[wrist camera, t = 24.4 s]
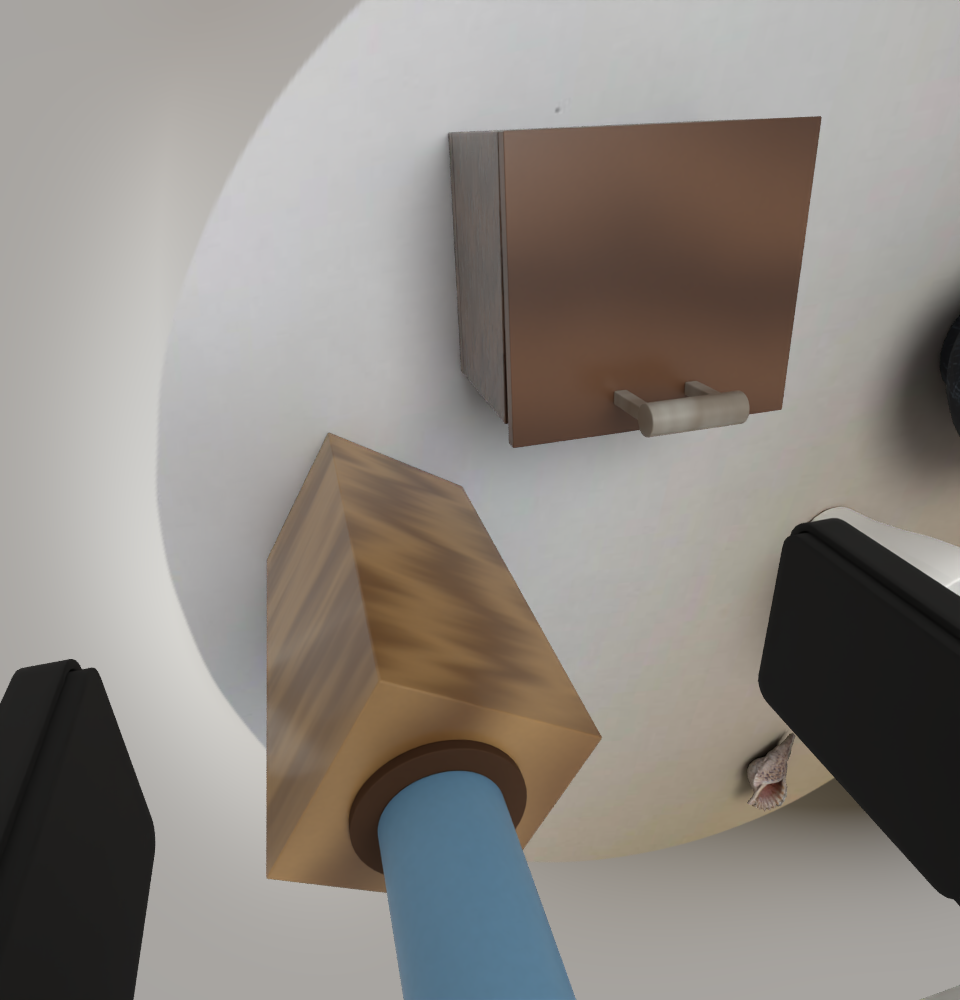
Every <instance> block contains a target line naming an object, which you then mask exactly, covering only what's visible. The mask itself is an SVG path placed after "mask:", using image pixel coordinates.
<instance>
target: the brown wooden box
mask: <svg viewBox="0 0 960 1000" xmlns="http://www.w3.org/2000/svg"><path fill="white" fill-rule="evenodd" d="M771 119H773V118H771ZM744 120H751V119H744ZM717 121H730V120H717ZM692 122H708V121H692ZM670 123H686V122H670ZM648 124H664V123H648ZM626 125H642V124H626ZM604 126H620V125H604ZM582 127H598V126H582ZM560 128H577V127H560ZM538 129H555V128H538ZM516 130H533V129H516ZM500 131H511V130H494V131H472V132H450V133H449V150H450V169H451V187H452V206H453V225H454V244H455V263H456V282H457V300H458V319H459V338H460V357H461V371H462V373H463V374H464V375H465V376H466V377H467V378H468V380H469V381H470V382H471V383H472V384H473V386H474V387H475V388H476V389H477V390H478V392H479V393H480V394H481V395H482V397H483V398H484V399H485V400H486V401H487V403H488V404H489V405H490V406H491V407H492V409H493V410H494V411H495V412H496V413H497V415H498V416H499V417H500V418H501V419H502V421H503V422H504V423H505V424H508V399H507V370H506V341H505V312H504V283H503V253H502V224H501V195H500V166H499V137H498V133H499V132H500Z"/></svg>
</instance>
